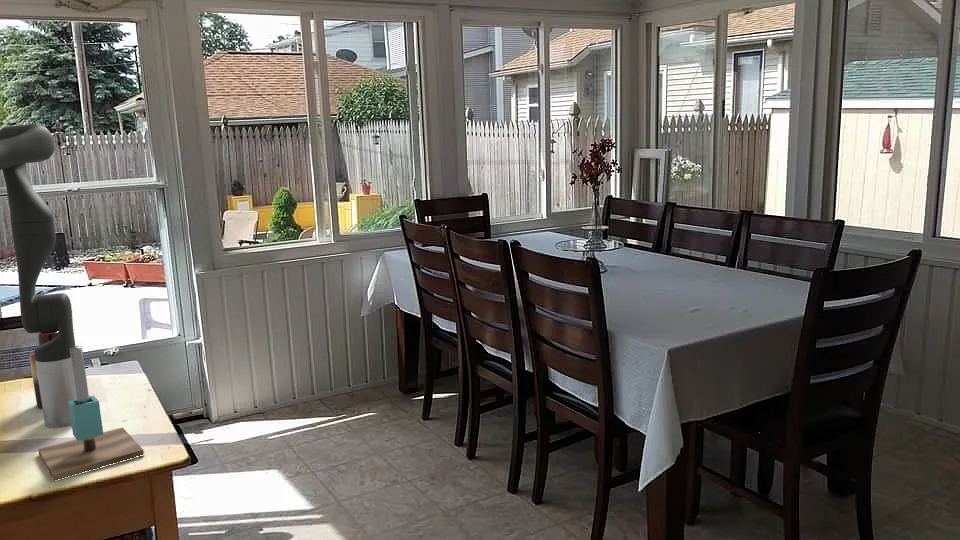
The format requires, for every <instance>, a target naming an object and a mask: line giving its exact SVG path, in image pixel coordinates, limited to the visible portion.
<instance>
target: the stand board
mask: <svg viewBox="0 0 960 540" xmlns="http://www.w3.org/2000/svg"><path fill="white" fill-rule="evenodd" d="M95 443H96V449H95V450H93V451H89V452H86V451H84V444H83V441H82V440H81V441H77V439H76V438H75V439H72V440H68V441H63V442H61V443H57V444H53V445H49V446H45V447H41V448H38V455H39V458H40V457H41V458H40V459H41V460H42V463H43V464H45V465H44V466H45V468H46V470H47V472H48V471H49V472H48V473H50V474H49V475H50V477H51V479H52V478H53V479H52V481H53V480H54V481H53V482H56V481H55V480H58V479H61V480H63V479H62V478H65V477H68V476H72V475H75V474H79V473H82V472H85V471H89V470H93V469H97V468H100V467H102V466H106V465H109V464H113V463H117V462H120V461H123V460H127V459H130V458H134V457H136V456H140V455H143V454H144V455H145V451H144V449H143V448H142V447H141V445H140V444H139V443H138V442H137V441H136V440H135V439H134V438H133V437H132V436H131V435H130V433H128V432H127V430H126V429H125V428H124V427H118V428H115V429H110V430H107V431H103V435H101V436H97V437H95ZM100 469H101V468H100ZM97 470H98V469H97ZM93 471H94V470H93ZM79 475H80V474H79ZM72 477H73V476H72ZM65 479H66V478H65ZM58 481H59V480H58Z"/></svg>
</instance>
